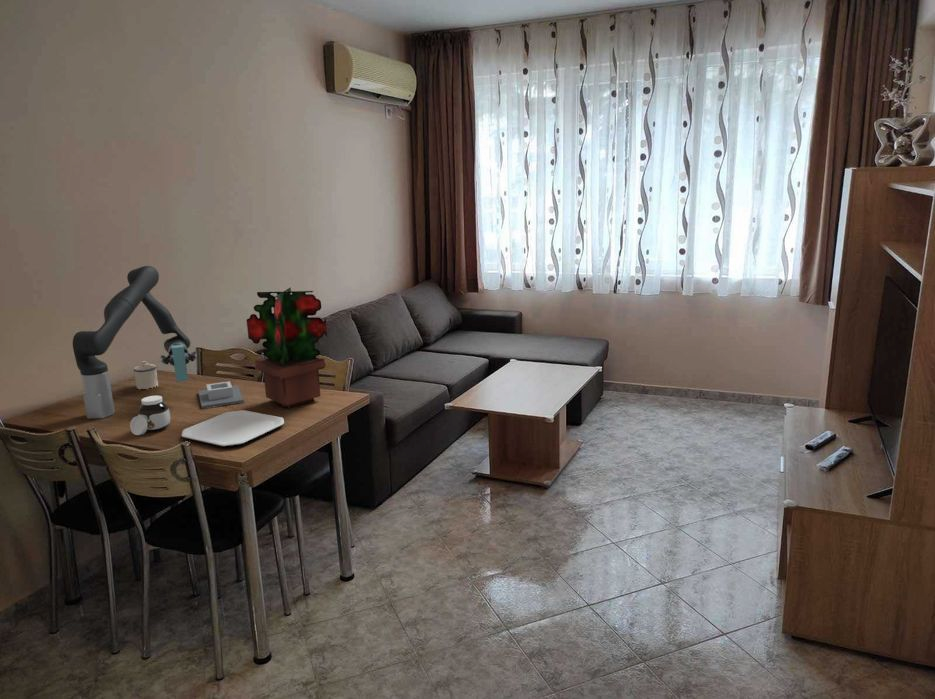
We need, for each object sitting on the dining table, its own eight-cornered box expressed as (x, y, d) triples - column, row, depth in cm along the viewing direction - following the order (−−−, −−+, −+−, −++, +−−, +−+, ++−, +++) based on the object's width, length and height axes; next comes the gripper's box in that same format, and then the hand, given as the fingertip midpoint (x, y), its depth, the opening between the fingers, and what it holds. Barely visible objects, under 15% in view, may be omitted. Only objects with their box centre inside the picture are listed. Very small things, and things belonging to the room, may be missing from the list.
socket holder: (243, 402, 271) (242, 390, 269) (201, 408, 264) (200, 396, 263) (237, 387, 290) (236, 376, 289) (198, 393, 284) (196, 381, 282)
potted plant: (332, 400, 271) (323, 290, 259) (282, 414, 256) (271, 298, 244) (303, 389, 286) (294, 285, 275) (255, 401, 271) (243, 292, 260)
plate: (173, 439, 234) (172, 433, 234) (235, 413, 259) (235, 408, 259) (233, 453, 221) (232, 447, 221) (293, 424, 246) (292, 419, 245)
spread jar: (174, 424, 248) (169, 394, 245) (162, 435, 237) (158, 404, 235) (140, 425, 248) (136, 395, 245) (127, 437, 237) (122, 406, 234)
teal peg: (188, 380, 268) (183, 346, 265) (176, 382, 267) (171, 348, 263) (187, 377, 272) (183, 344, 269) (175, 379, 270) (171, 345, 267)
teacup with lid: (163, 385, 296) (159, 359, 293) (145, 391, 289) (141, 365, 286) (145, 382, 302) (141, 357, 299) (127, 387, 294) (123, 362, 291)
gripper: (158, 346, 276) (158, 355, 261) (195, 341, 282) (197, 351, 267) (160, 363, 278) (161, 374, 263) (197, 359, 284) (200, 369, 269)
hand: (179, 362), depth 265 cm, fingers closed on teal peg, 4 cm apart
